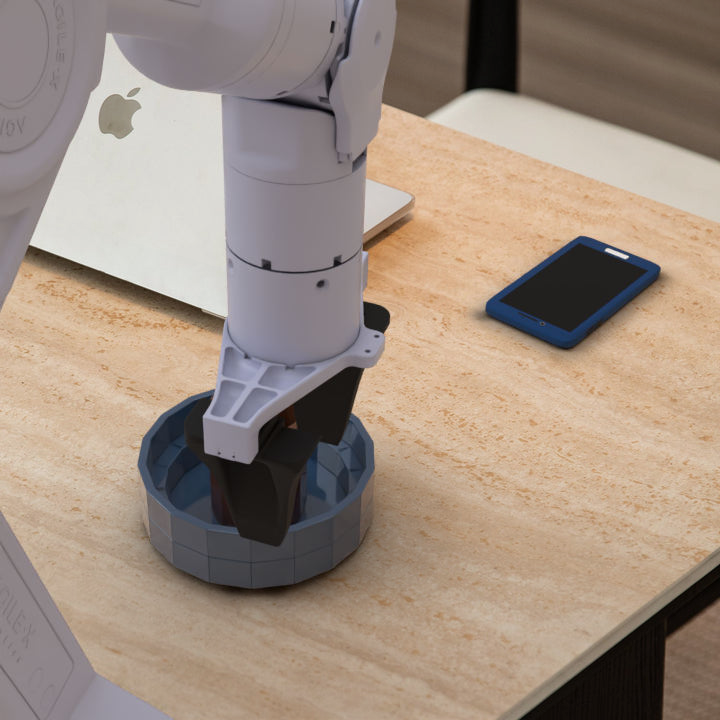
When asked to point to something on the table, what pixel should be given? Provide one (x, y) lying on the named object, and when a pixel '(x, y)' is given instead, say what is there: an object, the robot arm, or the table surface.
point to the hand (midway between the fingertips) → (293, 485)
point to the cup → (224, 514)
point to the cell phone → (572, 291)
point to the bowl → (223, 543)
